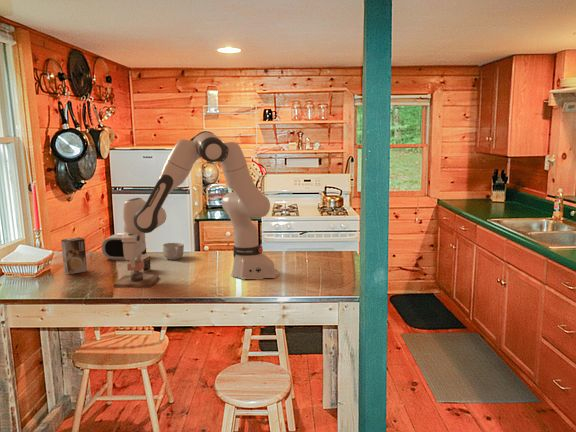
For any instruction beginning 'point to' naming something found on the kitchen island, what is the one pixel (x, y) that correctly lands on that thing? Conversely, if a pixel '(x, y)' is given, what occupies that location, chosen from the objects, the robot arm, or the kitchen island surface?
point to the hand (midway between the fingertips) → (136, 265)
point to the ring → (138, 266)
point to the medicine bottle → (145, 262)
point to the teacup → (173, 250)
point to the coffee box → (74, 255)
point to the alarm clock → (113, 247)
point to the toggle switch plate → (136, 279)
